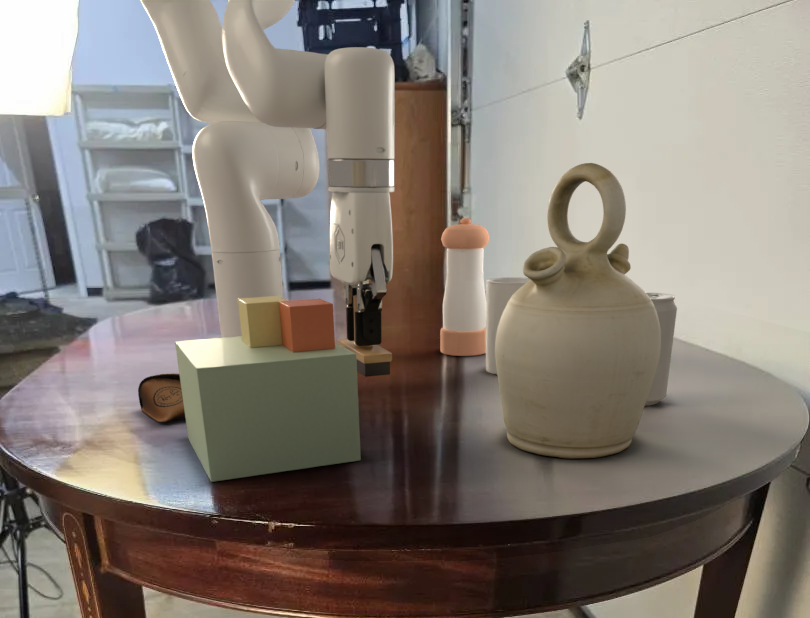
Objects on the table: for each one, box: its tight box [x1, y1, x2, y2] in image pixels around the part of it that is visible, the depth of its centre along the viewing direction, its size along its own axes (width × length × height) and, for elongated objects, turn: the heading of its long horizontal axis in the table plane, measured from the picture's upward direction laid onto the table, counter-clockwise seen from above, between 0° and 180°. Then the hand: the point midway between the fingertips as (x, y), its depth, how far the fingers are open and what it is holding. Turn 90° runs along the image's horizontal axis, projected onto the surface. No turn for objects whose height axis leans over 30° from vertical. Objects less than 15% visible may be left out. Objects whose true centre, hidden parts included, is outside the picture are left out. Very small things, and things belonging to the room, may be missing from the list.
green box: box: [174, 336, 362, 483], centre depth 75 cm, size 16×14×10 cm
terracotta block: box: [279, 298, 336, 352], centre depth 71 cm, size 4×4×4 cm
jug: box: [495, 162, 661, 460], centre depth 72 cm, size 15×16×25 cm
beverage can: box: [644, 292, 678, 407], centre depth 89 cm, size 6×6×12 cm
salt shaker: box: [439, 217, 491, 357], centre depth 116 cm, size 7×7×19 cm
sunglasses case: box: [137, 373, 186, 423], centre depth 92 cm, size 18×7×7 cm
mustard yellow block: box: [238, 296, 289, 348], centre depth 73 cm, size 4×4×4 cm
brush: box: [337, 294, 393, 378], centre depth 95 cm, size 10×4×9 cm, turn 22°
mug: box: [485, 276, 531, 375], centre depth 105 cm, size 10×7×12 cm, turn 119°
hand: (364, 341), depth 95 cm, fingers closed on brush, 2 cm apart
